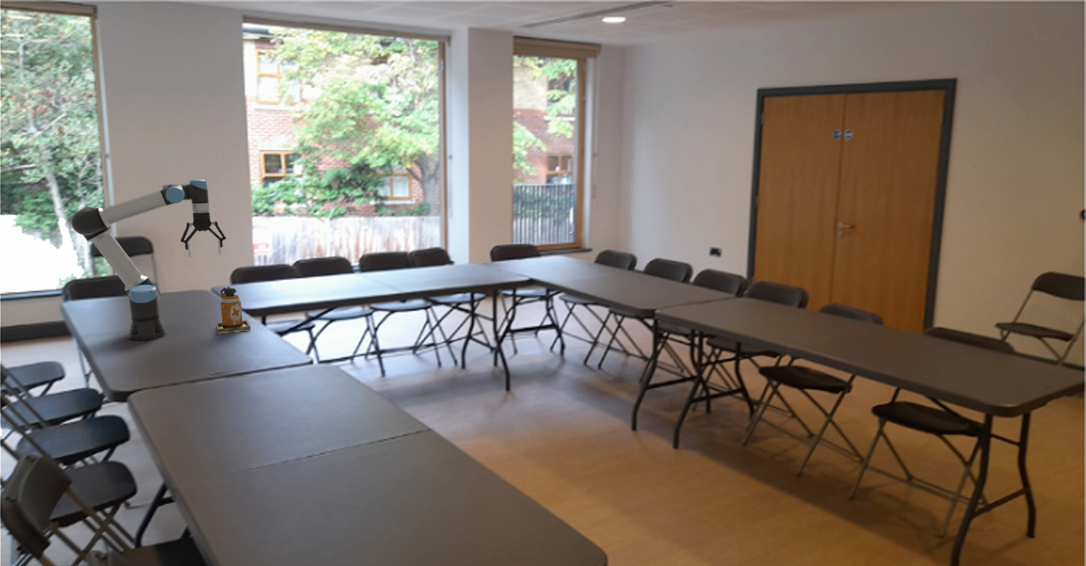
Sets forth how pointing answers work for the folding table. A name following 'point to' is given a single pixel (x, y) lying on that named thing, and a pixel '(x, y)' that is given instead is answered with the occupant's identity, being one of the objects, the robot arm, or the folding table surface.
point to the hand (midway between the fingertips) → (204, 255)
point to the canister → (230, 308)
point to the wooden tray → (236, 329)
